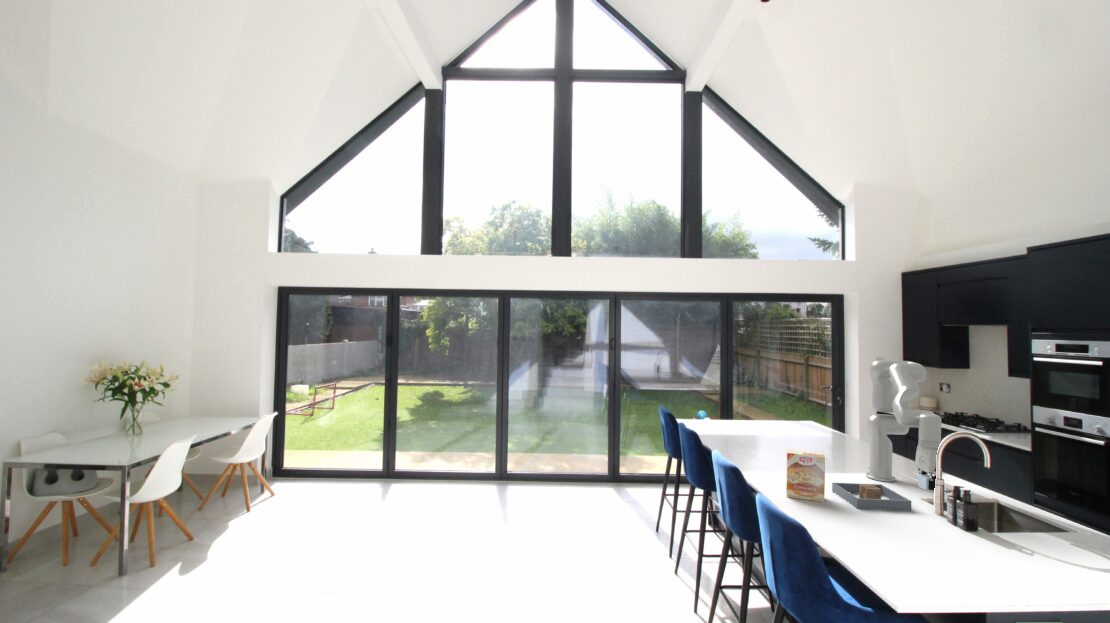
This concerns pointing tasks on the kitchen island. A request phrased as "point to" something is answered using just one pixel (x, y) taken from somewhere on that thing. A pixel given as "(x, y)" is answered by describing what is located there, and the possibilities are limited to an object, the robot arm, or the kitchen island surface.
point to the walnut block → (869, 492)
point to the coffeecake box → (805, 475)
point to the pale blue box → (924, 481)
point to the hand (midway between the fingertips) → (928, 487)
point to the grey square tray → (884, 504)
